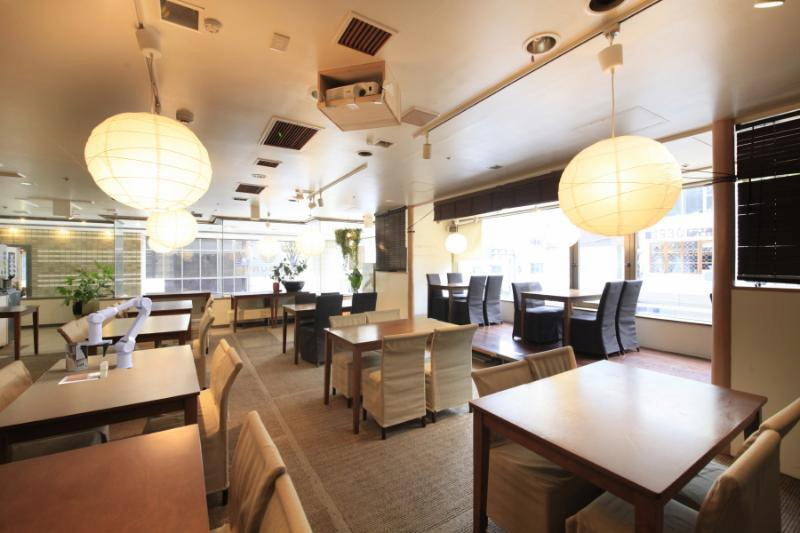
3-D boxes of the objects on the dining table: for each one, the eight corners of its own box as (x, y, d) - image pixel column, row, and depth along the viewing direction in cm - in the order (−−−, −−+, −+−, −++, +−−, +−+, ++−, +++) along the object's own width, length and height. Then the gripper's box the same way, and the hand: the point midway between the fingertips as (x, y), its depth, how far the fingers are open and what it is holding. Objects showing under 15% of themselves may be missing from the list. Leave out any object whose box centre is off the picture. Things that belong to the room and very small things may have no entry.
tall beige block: (102, 375, 192) (102, 361, 192) (108, 374, 194) (108, 361, 194) (100, 378, 187) (100, 364, 187) (105, 378, 189) (105, 364, 188)
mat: (65, 377, 189) (65, 376, 189) (103, 372, 197) (103, 371, 197) (57, 385, 177) (57, 384, 177) (97, 379, 186) (97, 379, 186)
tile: (70, 375, 186) (66, 378, 181) (89, 373, 190) (86, 376, 185) (70, 378, 186) (66, 381, 181) (89, 375, 190) (86, 379, 185)
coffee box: (88, 369, 203) (88, 342, 202) (76, 372, 197) (76, 345, 196) (77, 367, 205) (77, 341, 205) (64, 370, 199) (64, 344, 198)
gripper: (76, 336, 186) (76, 361, 187) (110, 334, 194) (110, 357, 194) (79, 334, 192) (79, 357, 193) (112, 331, 200) (112, 354, 200)
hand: (95, 357), depth 194 cm, fingers open, 7 cm apart
